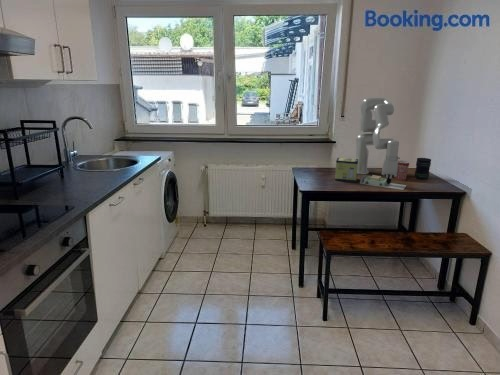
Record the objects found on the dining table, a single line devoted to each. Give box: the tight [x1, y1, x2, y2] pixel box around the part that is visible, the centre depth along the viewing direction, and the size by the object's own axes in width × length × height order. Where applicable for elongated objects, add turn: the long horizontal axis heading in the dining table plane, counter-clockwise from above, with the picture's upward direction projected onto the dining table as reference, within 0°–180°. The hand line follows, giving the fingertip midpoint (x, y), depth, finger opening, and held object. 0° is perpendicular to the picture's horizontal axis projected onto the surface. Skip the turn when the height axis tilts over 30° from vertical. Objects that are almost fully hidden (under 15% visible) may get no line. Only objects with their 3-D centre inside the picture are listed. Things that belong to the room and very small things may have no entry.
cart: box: [364, 176, 387, 186], centre depth 245 cm, size 14×12×3 cm
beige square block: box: [370, 174, 382, 181], centre depth 245 cm, size 6×6×4 cm
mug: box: [395, 160, 411, 181], centre depth 255 cm, size 13×9×14 cm
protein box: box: [334, 157, 358, 183], centre depth 254 cm, size 10×16×16 cm
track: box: [359, 174, 407, 191], centre depth 242 cm, size 30×12×4 cm, turn 56°
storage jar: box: [414, 157, 432, 181], centre depth 257 cm, size 10×10×15 cm
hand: (388, 183), depth 240 cm, fingers closed
